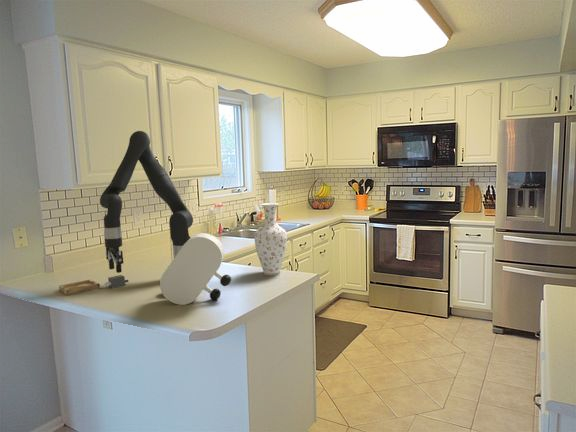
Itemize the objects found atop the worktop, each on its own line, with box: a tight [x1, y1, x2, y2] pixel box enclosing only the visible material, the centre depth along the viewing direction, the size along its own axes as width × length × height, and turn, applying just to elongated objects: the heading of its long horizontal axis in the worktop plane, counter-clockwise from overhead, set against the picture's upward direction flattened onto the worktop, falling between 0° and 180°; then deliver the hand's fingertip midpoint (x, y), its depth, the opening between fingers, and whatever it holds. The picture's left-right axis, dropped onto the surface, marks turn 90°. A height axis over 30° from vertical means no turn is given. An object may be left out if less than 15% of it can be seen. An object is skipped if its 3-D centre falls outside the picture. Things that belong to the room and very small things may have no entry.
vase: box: [254, 202, 288, 276], centre depth 220 cm, size 16×16×35 cm
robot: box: [159, 232, 232, 306], centre depth 181 cm, size 30×9×24 cm
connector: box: [104, 274, 129, 289], centre depth 207 cm, size 4×11×4 cm, turn 134°
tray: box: [58, 279, 101, 296], centre depth 203 cm, size 11×14×2 cm
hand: (115, 270), depth 207 cm, fingers open, 8 cm apart
